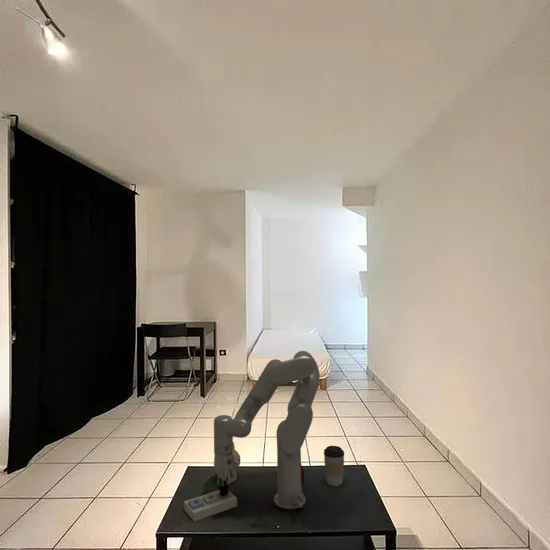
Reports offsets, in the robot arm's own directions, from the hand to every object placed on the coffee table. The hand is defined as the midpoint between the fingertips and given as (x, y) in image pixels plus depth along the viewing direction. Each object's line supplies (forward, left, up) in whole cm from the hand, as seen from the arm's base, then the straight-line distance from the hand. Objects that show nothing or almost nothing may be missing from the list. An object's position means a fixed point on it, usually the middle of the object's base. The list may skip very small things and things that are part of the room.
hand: (223, 494), depth 160 cm
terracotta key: (0, 0, -3) cm, 3 cm away
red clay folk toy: (-2, -34, -4) cm, 34 cm away
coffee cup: (-13, -47, -4) cm, 49 cm away
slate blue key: (0, +12, -2) cm, 12 cm away
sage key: (0, +6, -2) cm, 6 cm away
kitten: (+16, -10, -4) cm, 19 cm away
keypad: (0, +6, -3) cm, 7 cm away
